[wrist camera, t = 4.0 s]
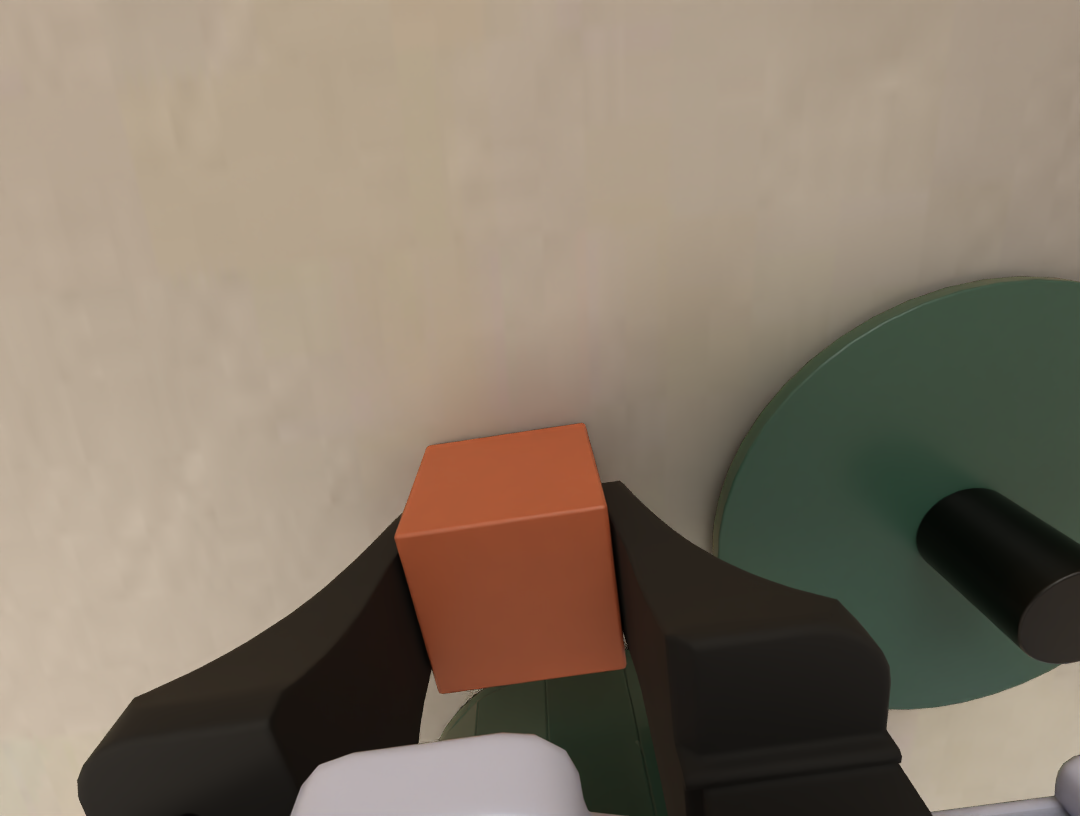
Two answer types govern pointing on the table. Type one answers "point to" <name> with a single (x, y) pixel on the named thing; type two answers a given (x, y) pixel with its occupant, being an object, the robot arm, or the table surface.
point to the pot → (580, 733)
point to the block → (512, 560)
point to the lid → (930, 486)
